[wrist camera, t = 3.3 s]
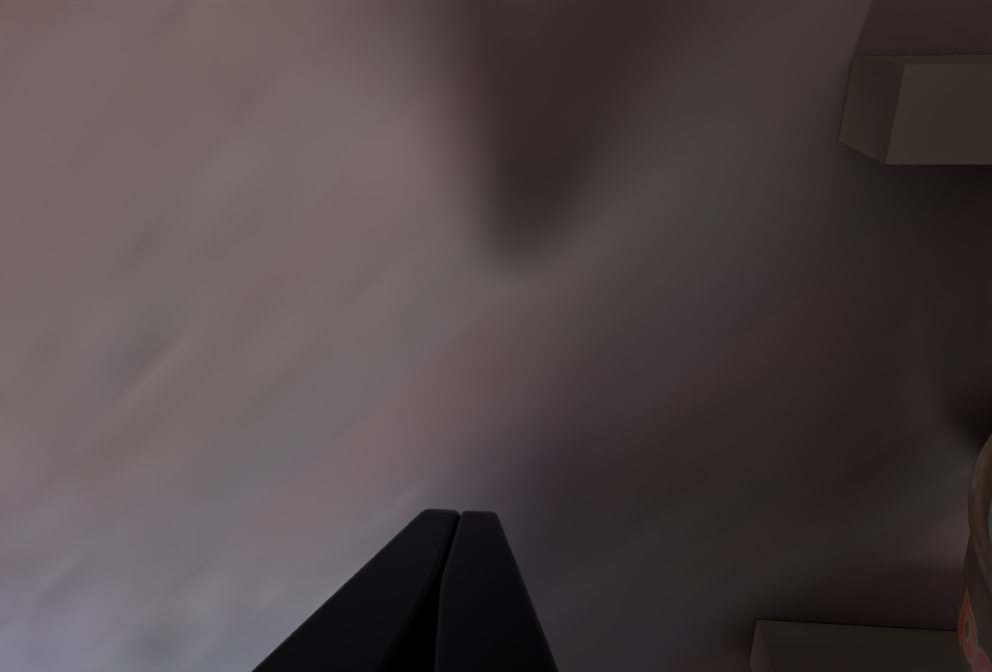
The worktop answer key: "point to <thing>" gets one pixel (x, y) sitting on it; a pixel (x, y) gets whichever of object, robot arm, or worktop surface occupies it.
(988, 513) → the tin
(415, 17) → the worktop surface
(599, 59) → the worktop surface
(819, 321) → the worktop surface
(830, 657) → the dock
